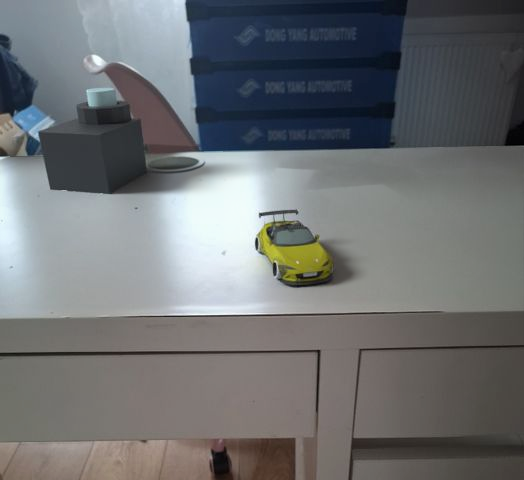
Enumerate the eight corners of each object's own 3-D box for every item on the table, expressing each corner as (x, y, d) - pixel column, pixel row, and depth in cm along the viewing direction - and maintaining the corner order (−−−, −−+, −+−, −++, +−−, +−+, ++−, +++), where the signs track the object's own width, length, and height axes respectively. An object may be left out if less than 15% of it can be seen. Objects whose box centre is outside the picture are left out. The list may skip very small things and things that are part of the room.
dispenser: (109, 194, 65) (97, 116, 60) (50, 189, 67) (33, 114, 62) (151, 170, 74) (144, 101, 70) (98, 166, 76) (87, 99, 71)
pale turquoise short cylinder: (109, 110, 66) (106, 91, 65) (83, 109, 67) (80, 90, 66) (122, 105, 69) (120, 87, 68) (98, 105, 70) (95, 87, 69)
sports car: (279, 289, 43) (280, 252, 41) (250, 243, 51) (249, 211, 50) (341, 282, 44) (343, 246, 42) (303, 238, 52) (303, 206, 51)
